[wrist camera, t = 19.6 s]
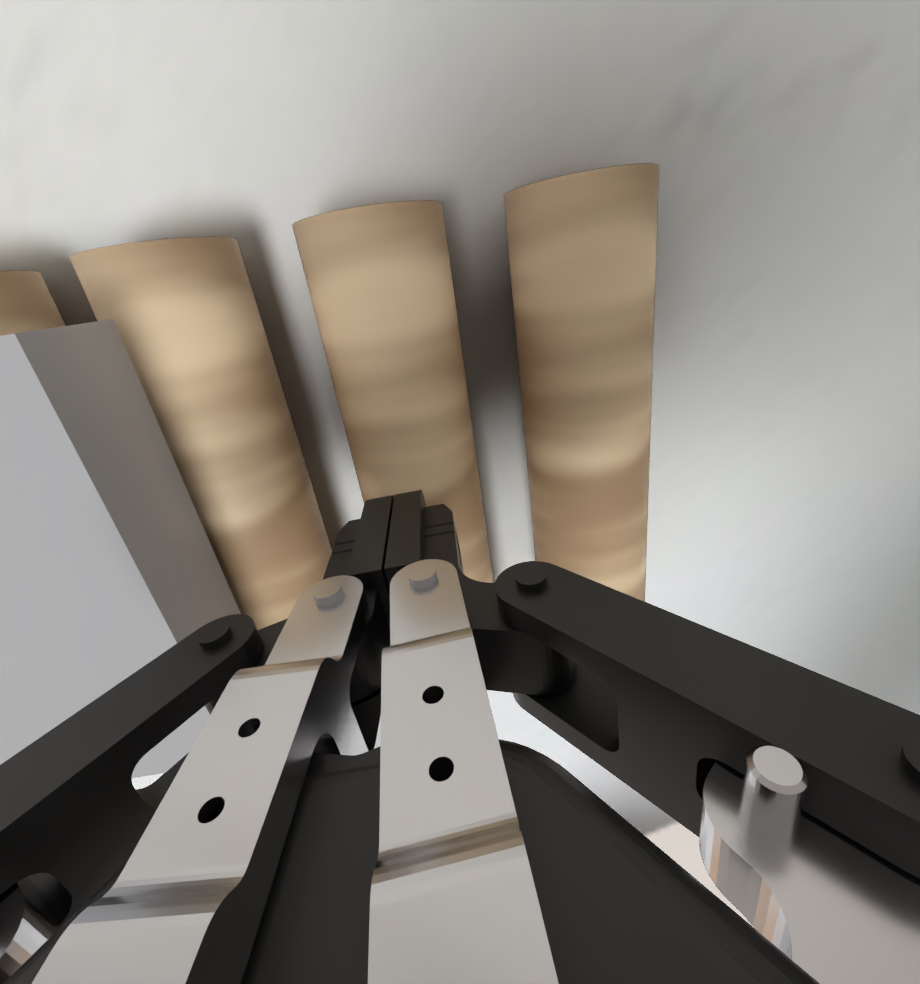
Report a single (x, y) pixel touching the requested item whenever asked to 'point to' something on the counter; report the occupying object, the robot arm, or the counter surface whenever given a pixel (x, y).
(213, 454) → the roller bed
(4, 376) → the slab
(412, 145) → the counter surface
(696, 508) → the counter surface
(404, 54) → the counter surface
